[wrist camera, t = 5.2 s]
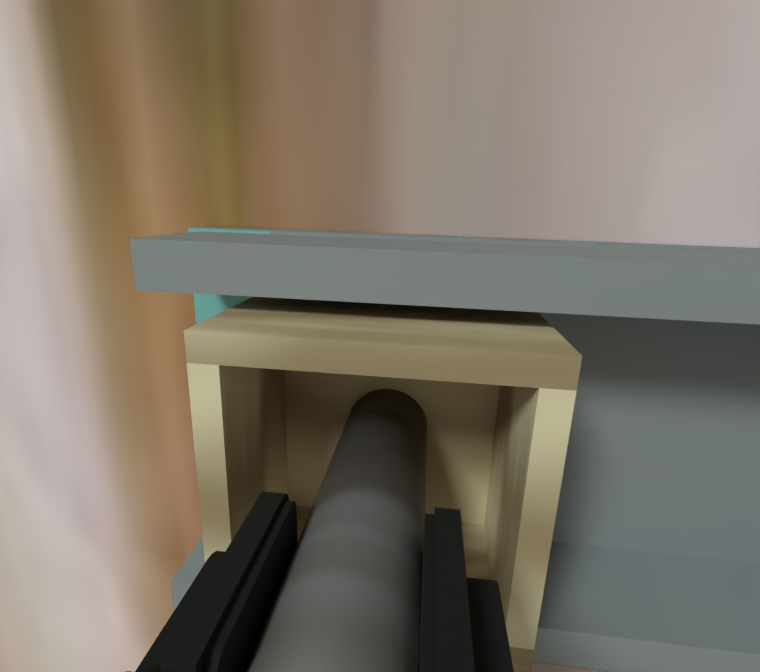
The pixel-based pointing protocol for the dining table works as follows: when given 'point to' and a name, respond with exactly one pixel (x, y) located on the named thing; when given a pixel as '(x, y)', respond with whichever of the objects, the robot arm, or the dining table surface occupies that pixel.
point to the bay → (575, 414)
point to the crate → (381, 461)
